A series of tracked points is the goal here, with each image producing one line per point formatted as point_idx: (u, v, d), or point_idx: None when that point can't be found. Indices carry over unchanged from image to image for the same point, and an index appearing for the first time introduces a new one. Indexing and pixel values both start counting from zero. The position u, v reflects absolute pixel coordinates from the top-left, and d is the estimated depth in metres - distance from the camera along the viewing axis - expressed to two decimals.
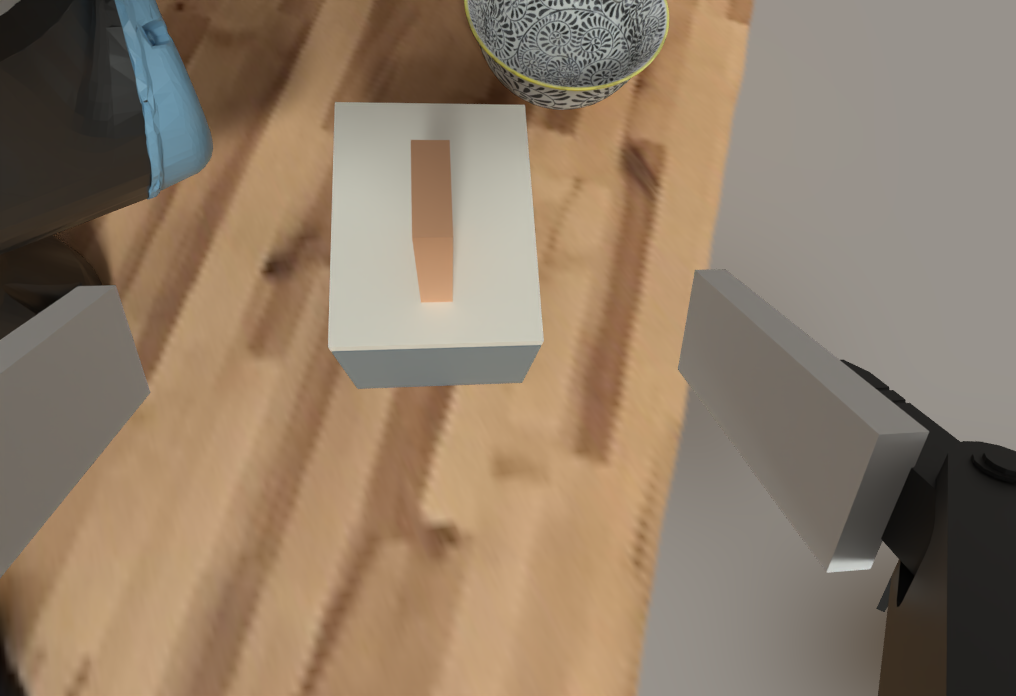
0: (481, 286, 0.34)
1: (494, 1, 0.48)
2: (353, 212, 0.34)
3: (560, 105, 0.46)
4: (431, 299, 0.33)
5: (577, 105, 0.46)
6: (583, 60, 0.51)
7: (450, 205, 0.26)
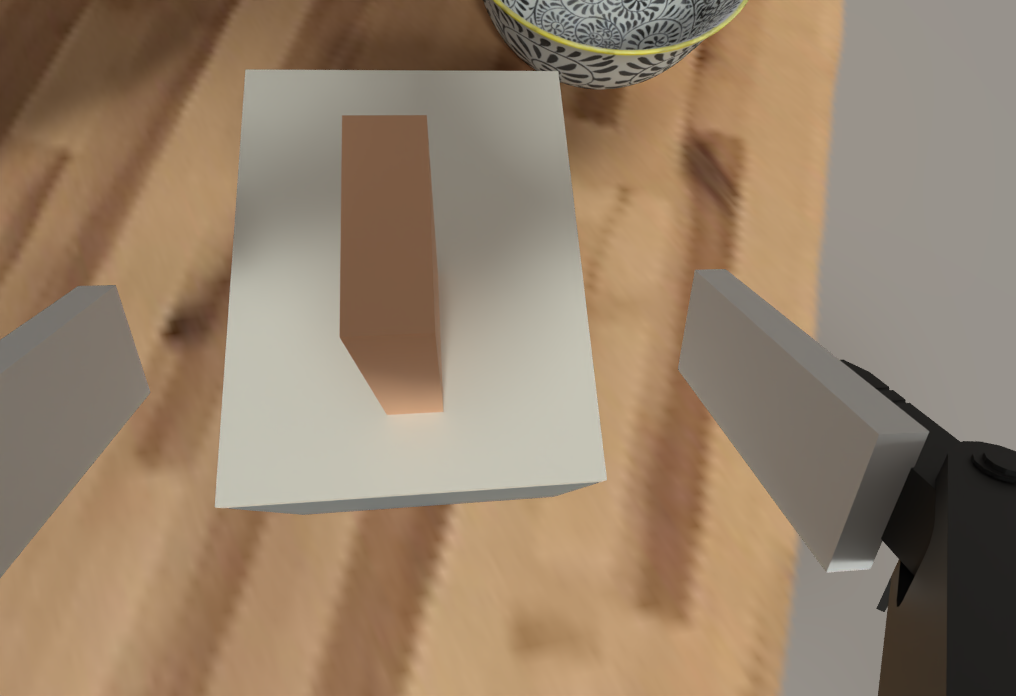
0: (494, 381, 0.19)
1: None
2: (271, 254, 0.20)
3: (601, 81, 0.31)
4: (405, 411, 0.18)
5: (625, 81, 0.32)
6: (626, 22, 0.36)
7: (429, 259, 0.12)
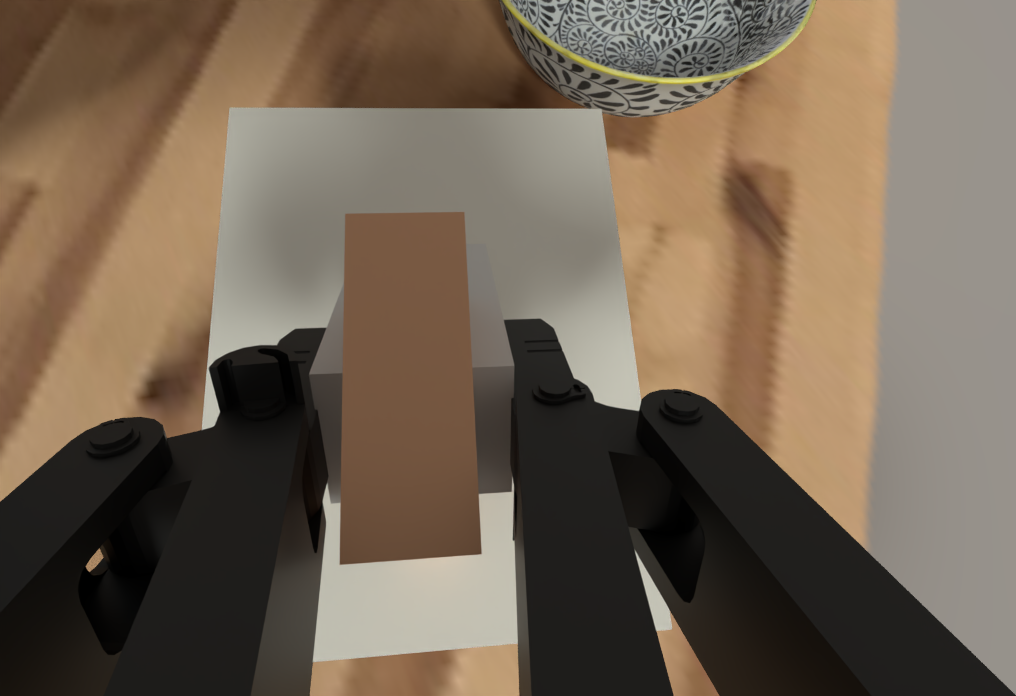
0: None
1: None
2: (256, 338, 0.16)
3: (637, 110, 0.28)
4: None
5: (665, 110, 0.28)
6: (661, 41, 0.33)
7: (470, 433, 0.08)
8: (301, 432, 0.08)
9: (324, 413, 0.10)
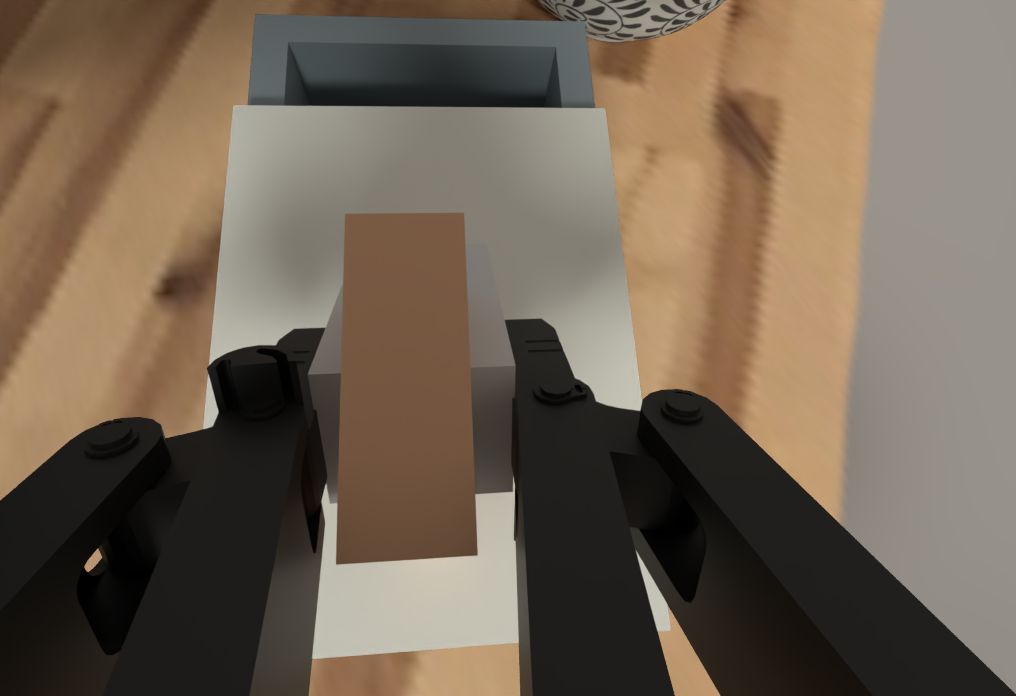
0: None
1: None
2: (258, 336, 0.16)
3: (630, 29, 0.29)
4: None
5: (656, 29, 0.29)
6: None
7: (468, 434, 0.08)
8: (300, 432, 0.08)
9: (323, 413, 0.10)
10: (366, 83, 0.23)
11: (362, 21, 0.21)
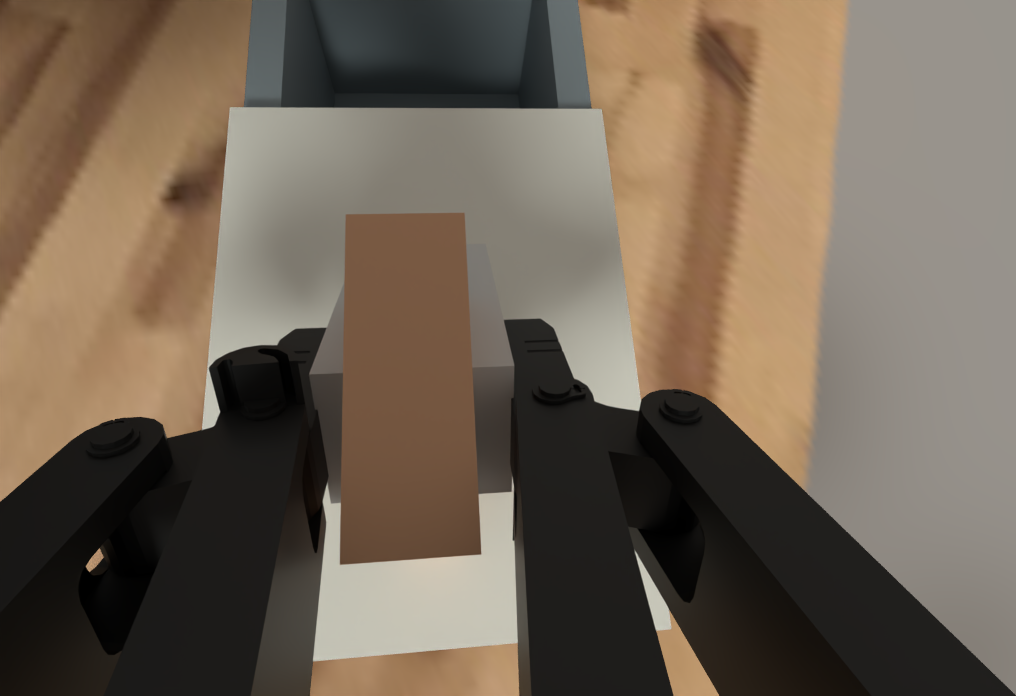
0: None
1: None
2: (256, 338, 0.16)
3: None
4: None
5: None
6: None
7: (470, 433, 0.08)
8: (301, 432, 0.08)
9: (324, 413, 0.10)
10: None
11: None
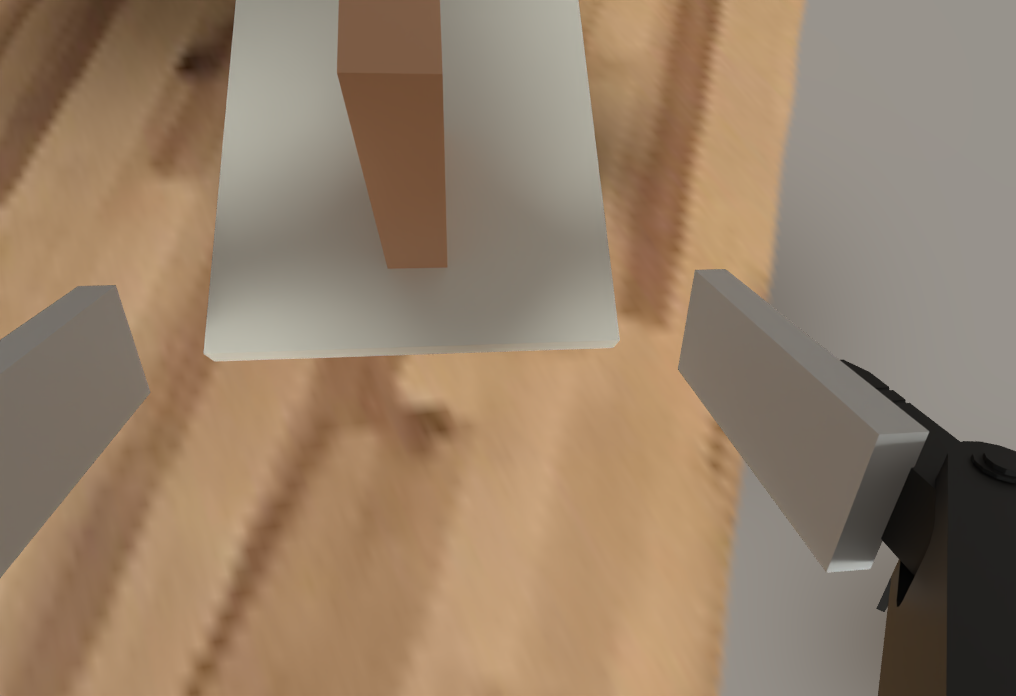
0: (501, 239, 0.18)
1: None
2: (267, 107, 0.19)
3: None
4: (406, 262, 0.17)
5: None
6: None
7: (436, 3, 0.11)
8: None
9: None
10: None
11: None
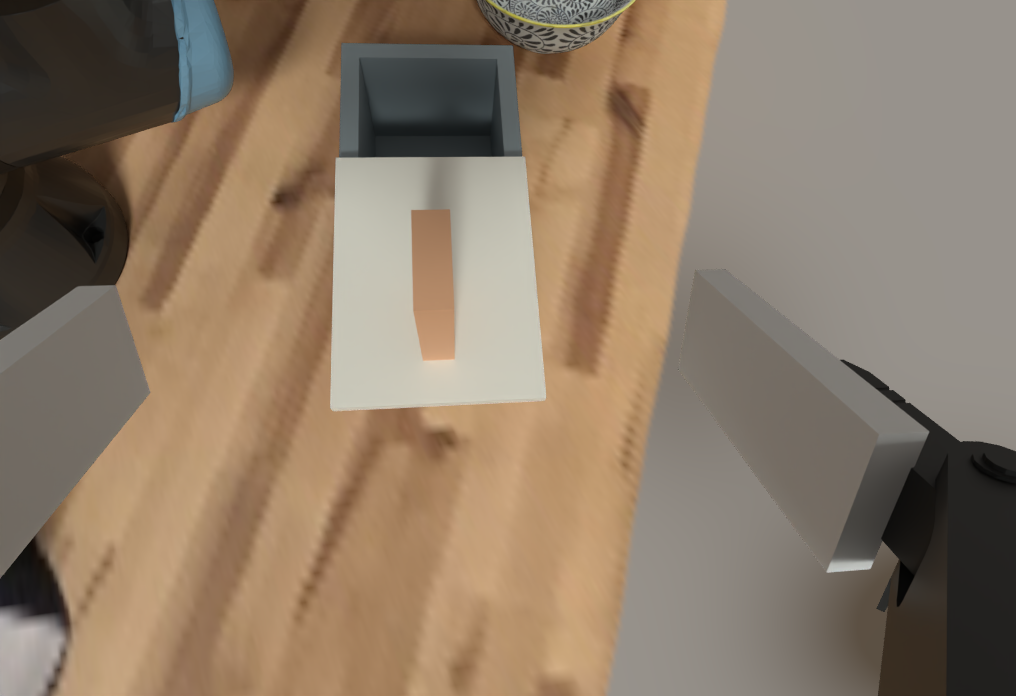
0: (483, 343, 0.34)
1: None
2: (355, 269, 0.34)
3: (549, 46, 0.49)
4: (433, 358, 0.33)
5: (565, 46, 0.49)
6: (571, 10, 0.54)
7: (451, 276, 0.26)
8: None
9: None
10: (397, 78, 0.42)
11: (396, 46, 0.41)
